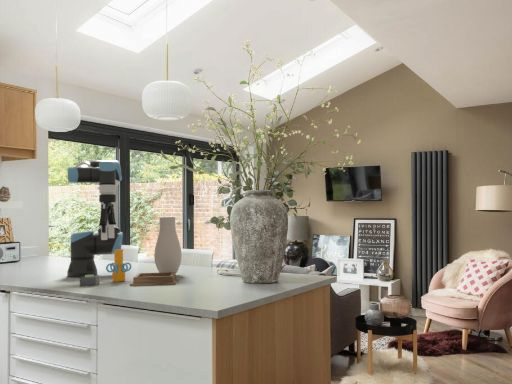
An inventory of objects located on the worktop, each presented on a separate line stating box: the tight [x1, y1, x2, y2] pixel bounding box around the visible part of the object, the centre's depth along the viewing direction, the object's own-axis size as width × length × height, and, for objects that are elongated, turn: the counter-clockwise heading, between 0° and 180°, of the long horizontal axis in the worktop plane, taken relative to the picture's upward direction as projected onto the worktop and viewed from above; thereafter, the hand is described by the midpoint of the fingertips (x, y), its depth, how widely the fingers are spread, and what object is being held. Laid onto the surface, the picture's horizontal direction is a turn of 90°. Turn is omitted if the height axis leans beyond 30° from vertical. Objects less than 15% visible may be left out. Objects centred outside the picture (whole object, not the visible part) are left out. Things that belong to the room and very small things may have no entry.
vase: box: [153, 216, 182, 275], centre depth 263 cm, size 14×14×30 cm
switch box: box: [79, 274, 100, 288], centre depth 232 cm, size 7×7×4 cm
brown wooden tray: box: [129, 272, 179, 287], centre depth 237 cm, size 19×20×4 cm
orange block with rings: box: [105, 248, 132, 283], centre depth 245 cm, size 12×10×15 cm
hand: (107, 239), depth 241 cm, fingers open, 13 cm apart
